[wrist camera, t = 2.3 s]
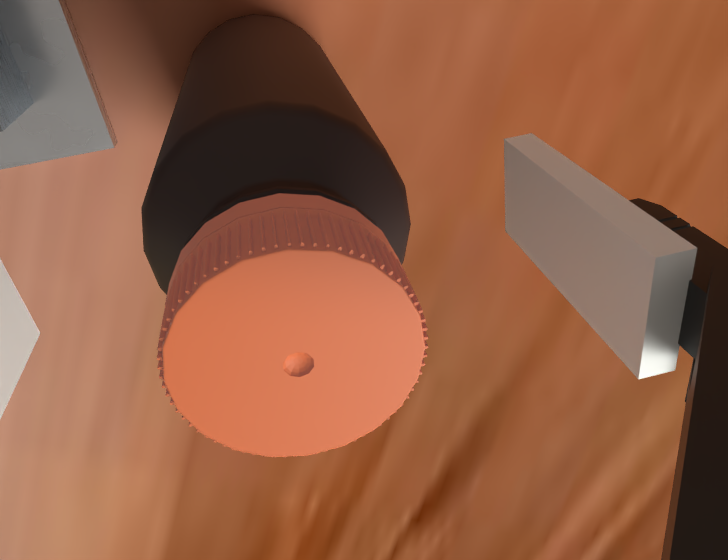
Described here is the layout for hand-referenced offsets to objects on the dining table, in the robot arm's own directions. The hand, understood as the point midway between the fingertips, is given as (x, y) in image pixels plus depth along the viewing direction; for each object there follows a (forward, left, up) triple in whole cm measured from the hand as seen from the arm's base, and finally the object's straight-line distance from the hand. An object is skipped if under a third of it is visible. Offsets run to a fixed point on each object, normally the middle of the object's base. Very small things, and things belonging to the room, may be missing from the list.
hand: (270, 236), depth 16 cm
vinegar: (0, 0, -15) cm, 15 cm away
